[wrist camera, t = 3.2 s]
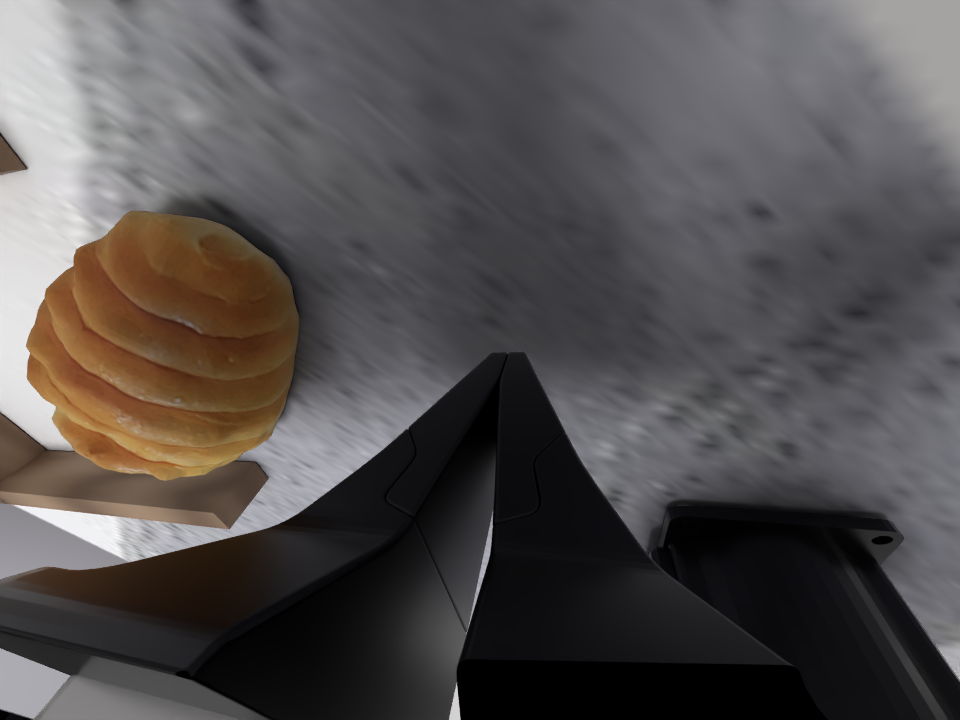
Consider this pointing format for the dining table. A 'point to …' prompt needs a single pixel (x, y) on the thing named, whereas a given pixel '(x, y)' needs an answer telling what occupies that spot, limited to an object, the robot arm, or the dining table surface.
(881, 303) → the dining table surface
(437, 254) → the dining table surface
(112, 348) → the pastry
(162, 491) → the frame
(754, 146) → the dining table surface
